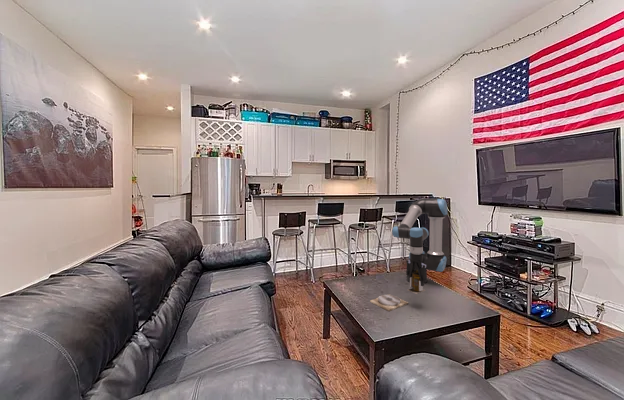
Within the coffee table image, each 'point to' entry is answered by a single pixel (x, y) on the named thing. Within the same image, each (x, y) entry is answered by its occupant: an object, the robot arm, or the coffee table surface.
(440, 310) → the coffee table surface
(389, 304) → the board
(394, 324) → the coffee table surface
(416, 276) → the condiment
